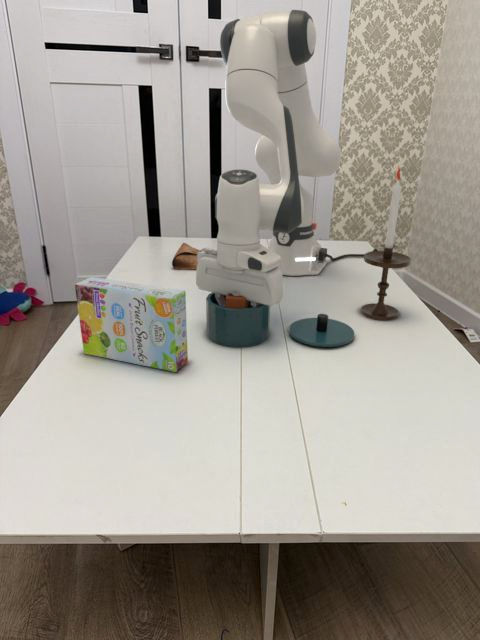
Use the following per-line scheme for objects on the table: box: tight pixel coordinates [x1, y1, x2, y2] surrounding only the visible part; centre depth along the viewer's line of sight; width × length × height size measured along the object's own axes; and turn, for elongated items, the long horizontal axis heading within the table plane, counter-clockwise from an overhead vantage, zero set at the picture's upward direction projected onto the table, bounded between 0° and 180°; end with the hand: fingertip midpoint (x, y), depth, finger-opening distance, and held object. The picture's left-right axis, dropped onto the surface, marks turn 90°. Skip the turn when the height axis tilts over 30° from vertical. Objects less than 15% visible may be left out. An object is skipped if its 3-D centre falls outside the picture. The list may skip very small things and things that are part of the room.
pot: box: [205, 292, 271, 348], centre depth 111 cm, size 14×14×8 cm
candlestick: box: [360, 165, 412, 321], centre depth 118 cm, size 11×11×35 cm
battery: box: [226, 292, 249, 309], centre depth 110 cm, size 4×7×10 cm, turn 175°
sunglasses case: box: [171, 242, 203, 271], centre depth 161 cm, size 18×7×7 cm
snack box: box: [74, 276, 189, 373], centre depth 97 cm, size 21×6×15 cm, turn 71°
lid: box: [288, 313, 355, 348], centre depth 112 cm, size 15×15×5 cm
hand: (237, 315), depth 110 cm, fingers closed on battery, 5 cm apart
